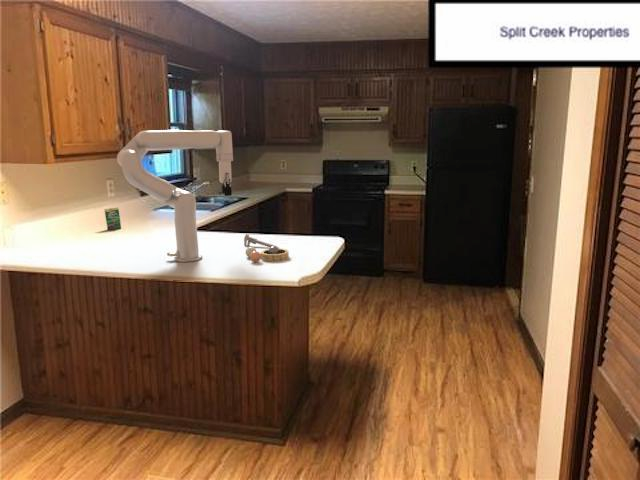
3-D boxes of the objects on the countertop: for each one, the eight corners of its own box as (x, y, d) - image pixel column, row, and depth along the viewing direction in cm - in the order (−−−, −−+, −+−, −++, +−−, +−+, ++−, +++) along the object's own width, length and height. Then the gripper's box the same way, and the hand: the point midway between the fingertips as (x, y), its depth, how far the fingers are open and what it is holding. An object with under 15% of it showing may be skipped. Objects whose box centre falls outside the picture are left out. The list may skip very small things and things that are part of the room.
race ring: (263, 262, 229) (263, 256, 228) (259, 256, 240) (258, 250, 240) (291, 260, 232) (290, 253, 231) (285, 253, 244) (284, 247, 243)
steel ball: (269, 252, 234) (267, 244, 237) (268, 259, 237) (267, 251, 241) (280, 251, 235) (278, 243, 239) (279, 258, 239) (277, 251, 242)
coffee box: (107, 230, 315) (104, 209, 312) (106, 229, 317) (104, 208, 315) (121, 228, 318) (119, 207, 316) (120, 228, 321) (118, 207, 318)
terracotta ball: (250, 263, 227) (250, 252, 226) (249, 261, 232) (248, 250, 231) (262, 262, 228) (261, 251, 227) (260, 260, 233) (259, 249, 232)
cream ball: (246, 259, 236) (246, 248, 235) (245, 256, 240) (244, 246, 239) (257, 258, 237) (256, 247, 236) (255, 255, 242) (255, 245, 241)
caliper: (244, 246, 264) (243, 234, 262) (245, 245, 265) (244, 233, 263) (278, 249, 255) (277, 236, 253) (279, 248, 256) (278, 236, 254)
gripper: (214, 157, 246) (217, 192, 250) (218, 159, 230) (220, 197, 234) (230, 156, 248) (232, 192, 252) (235, 158, 232) (237, 196, 236)
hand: (227, 194), depth 243 cm, fingers open, 9 cm apart
